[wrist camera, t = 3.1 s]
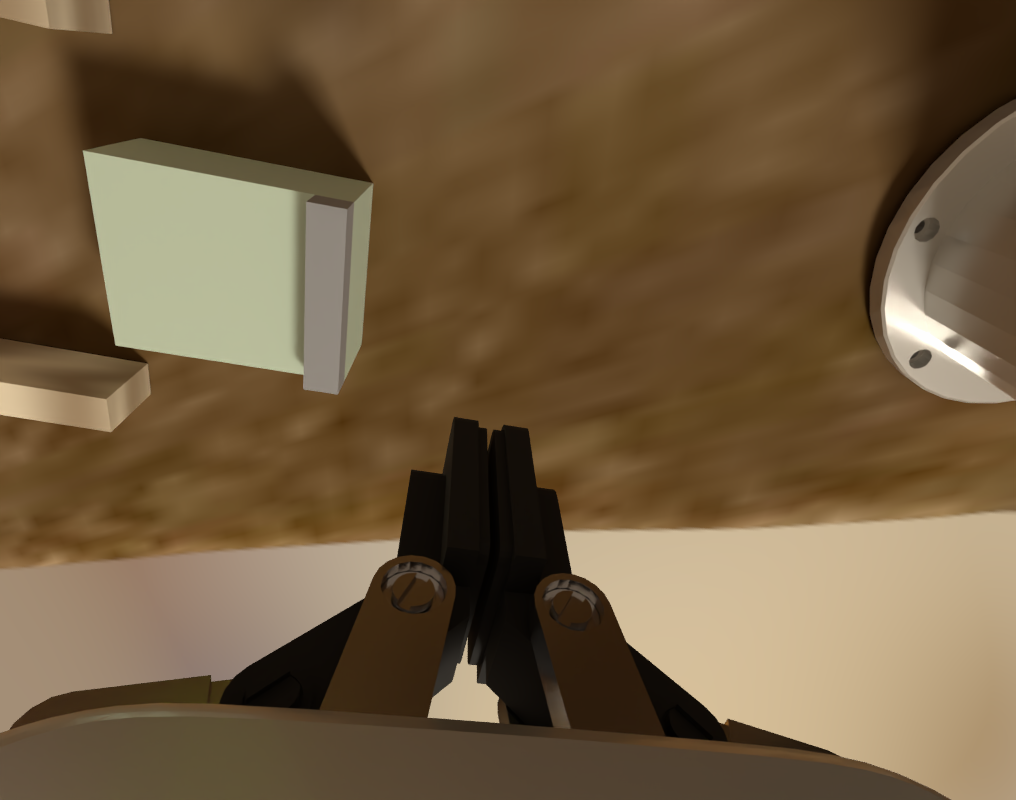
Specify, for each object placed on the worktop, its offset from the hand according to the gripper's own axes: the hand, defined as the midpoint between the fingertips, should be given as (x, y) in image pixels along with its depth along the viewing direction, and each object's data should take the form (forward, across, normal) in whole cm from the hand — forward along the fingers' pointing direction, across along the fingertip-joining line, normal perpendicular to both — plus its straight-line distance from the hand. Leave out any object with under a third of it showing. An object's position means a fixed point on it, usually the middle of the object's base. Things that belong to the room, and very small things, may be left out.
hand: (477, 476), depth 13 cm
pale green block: (+12, +8, 0) cm, 15 cm away
